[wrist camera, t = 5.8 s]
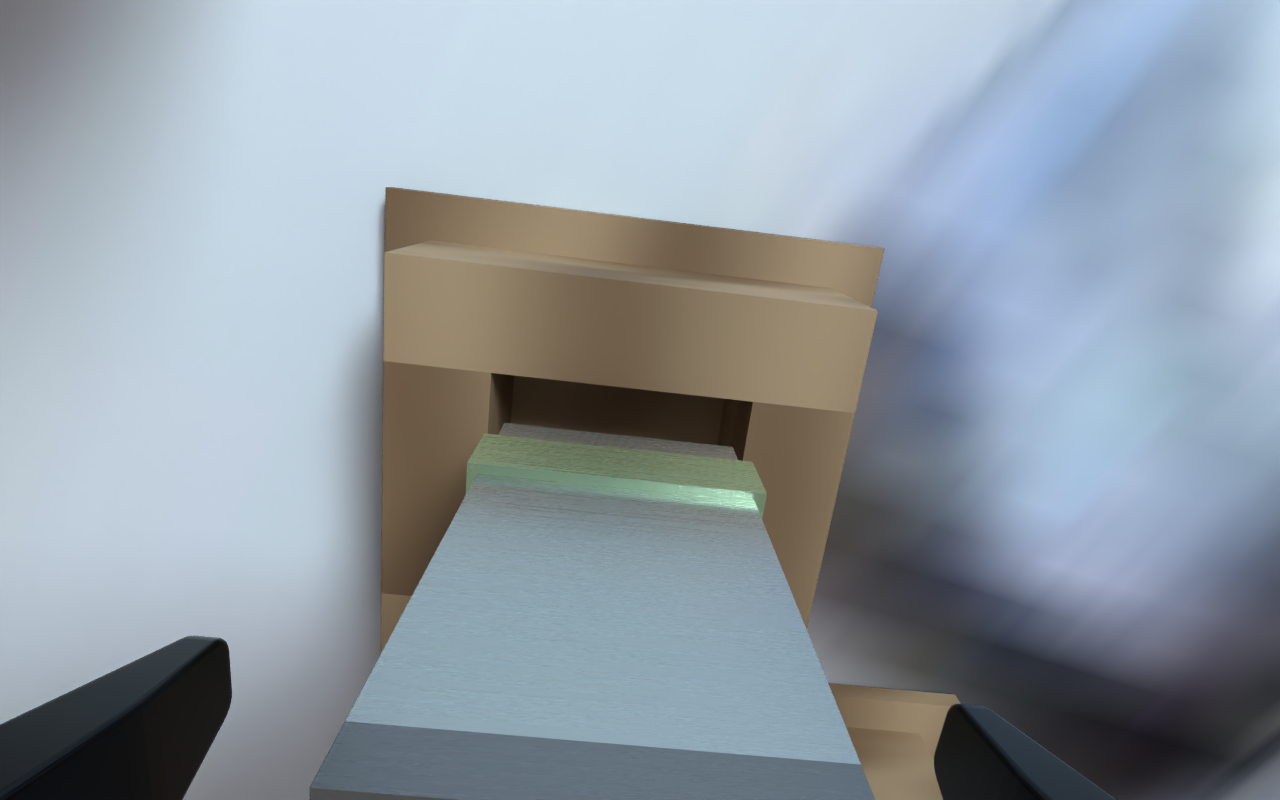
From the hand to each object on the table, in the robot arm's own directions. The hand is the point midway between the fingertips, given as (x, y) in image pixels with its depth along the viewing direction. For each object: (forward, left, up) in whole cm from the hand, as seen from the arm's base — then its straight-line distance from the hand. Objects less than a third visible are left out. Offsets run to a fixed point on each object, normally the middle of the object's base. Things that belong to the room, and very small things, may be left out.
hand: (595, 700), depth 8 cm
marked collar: (0, 0, -9) cm, 9 cm away
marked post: (0, 0, -5) cm, 5 cm away
